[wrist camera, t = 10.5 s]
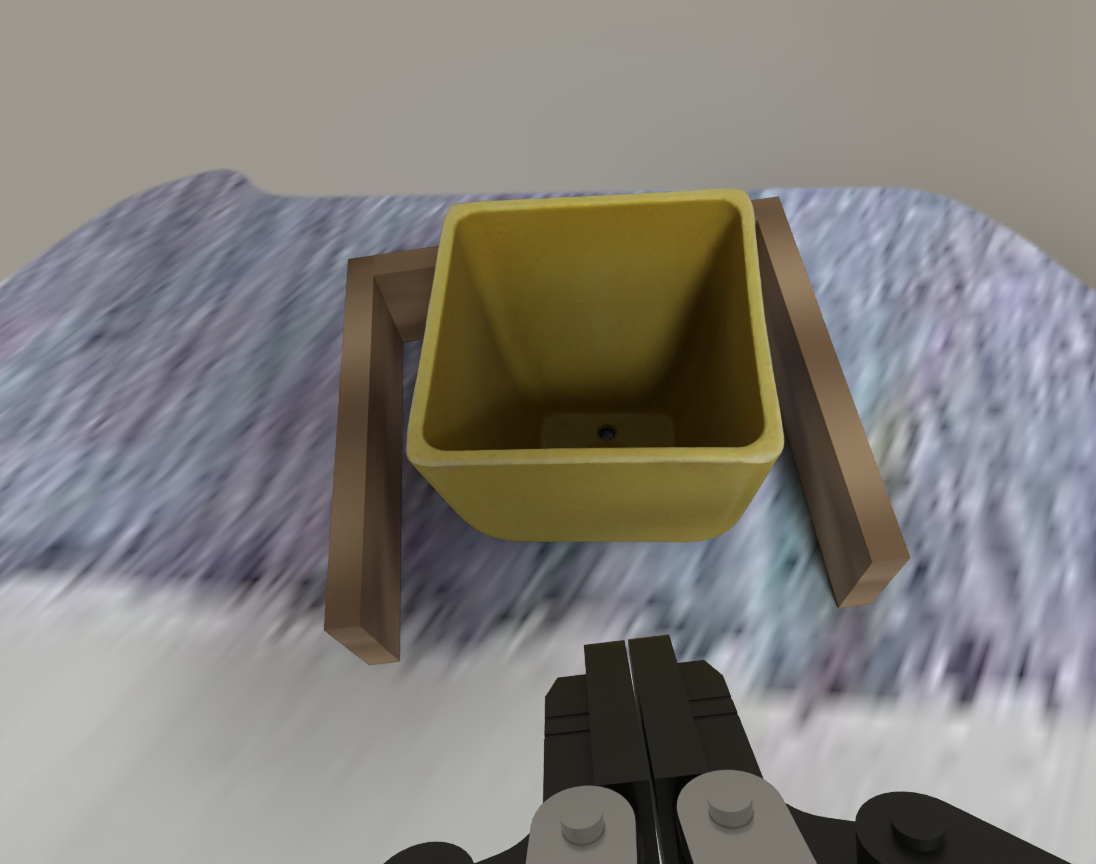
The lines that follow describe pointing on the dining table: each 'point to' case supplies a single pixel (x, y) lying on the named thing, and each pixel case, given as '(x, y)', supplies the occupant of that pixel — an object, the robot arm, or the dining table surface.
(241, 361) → the dining table surface
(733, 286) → the flower pot
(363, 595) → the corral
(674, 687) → the robot arm
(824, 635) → the dining table surface
